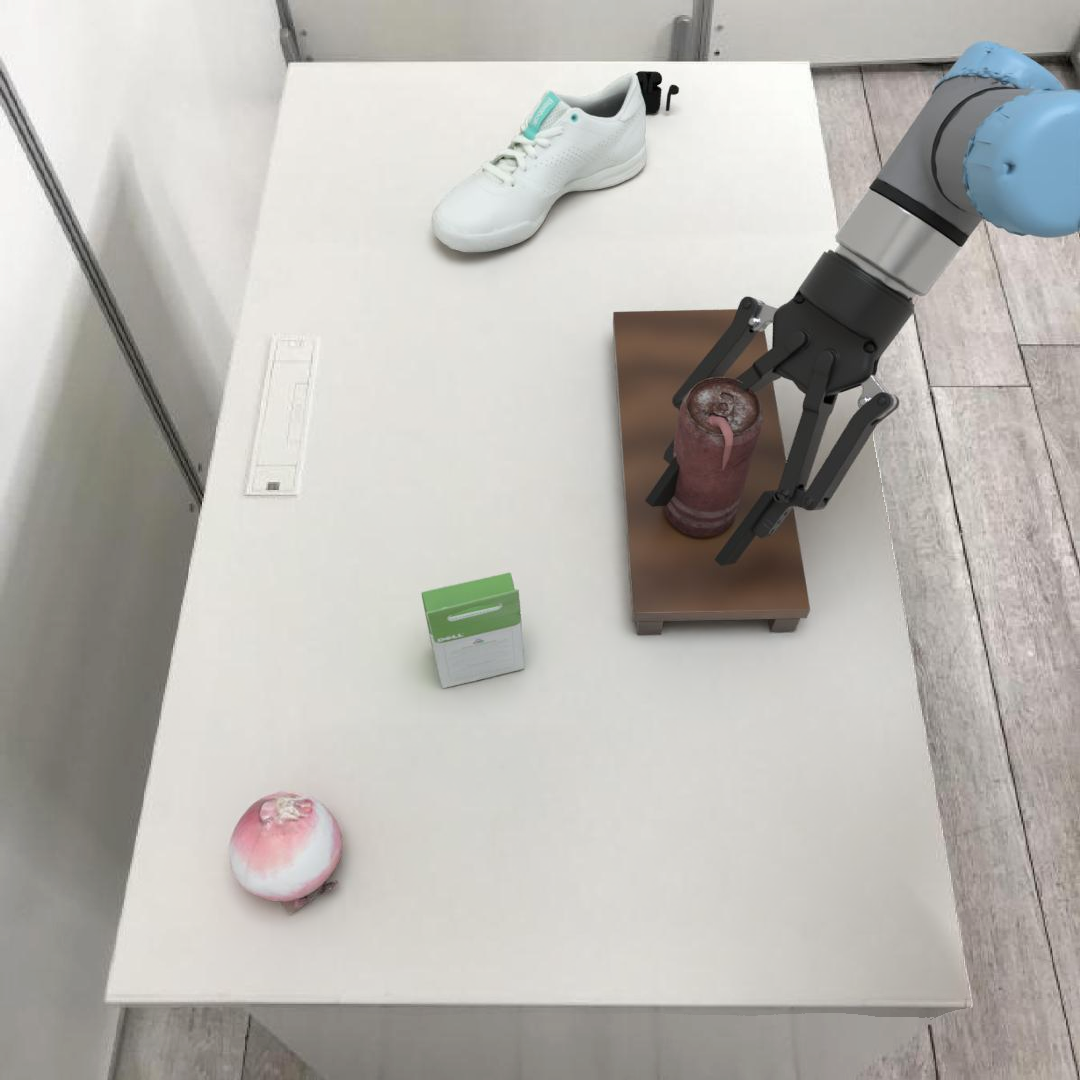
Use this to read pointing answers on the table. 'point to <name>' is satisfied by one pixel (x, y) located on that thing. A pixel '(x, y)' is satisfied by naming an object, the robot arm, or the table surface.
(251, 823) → the onion
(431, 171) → the table surface
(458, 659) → the ink box
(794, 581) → the shelf
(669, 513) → the can
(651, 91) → the wireless earbuds
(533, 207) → the running shoe
